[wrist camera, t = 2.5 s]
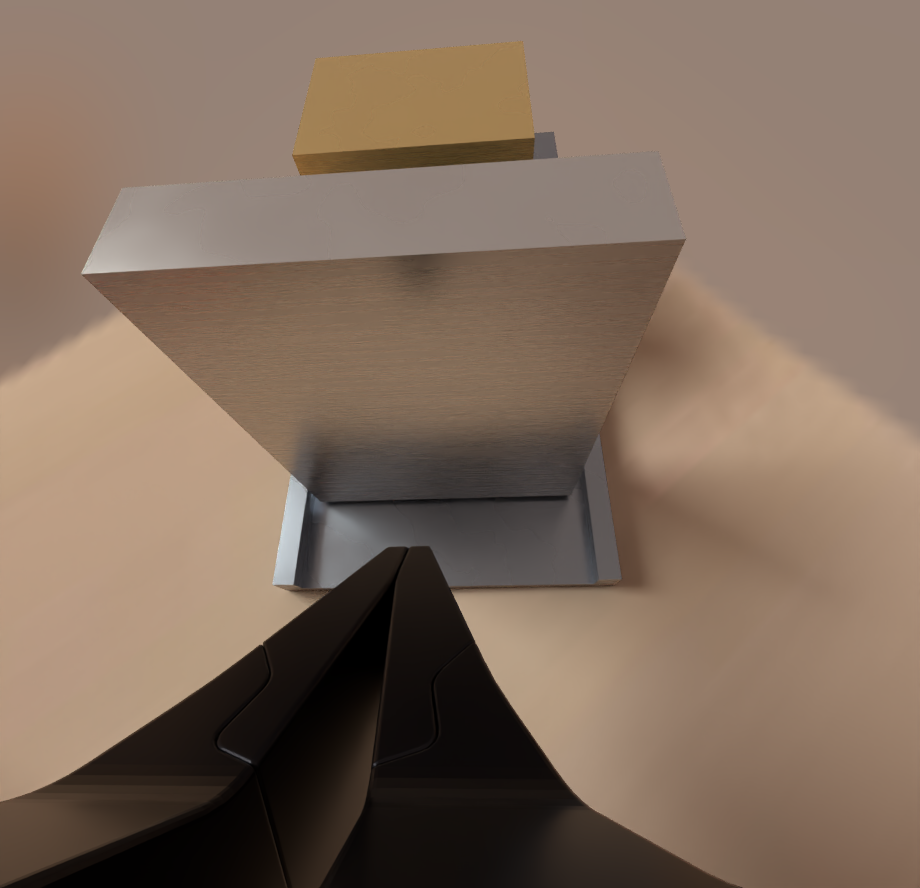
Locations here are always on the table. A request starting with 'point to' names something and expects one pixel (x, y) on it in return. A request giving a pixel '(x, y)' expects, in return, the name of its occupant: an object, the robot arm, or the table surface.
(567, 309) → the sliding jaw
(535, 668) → the table surface
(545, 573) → the vise
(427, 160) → the brass block
